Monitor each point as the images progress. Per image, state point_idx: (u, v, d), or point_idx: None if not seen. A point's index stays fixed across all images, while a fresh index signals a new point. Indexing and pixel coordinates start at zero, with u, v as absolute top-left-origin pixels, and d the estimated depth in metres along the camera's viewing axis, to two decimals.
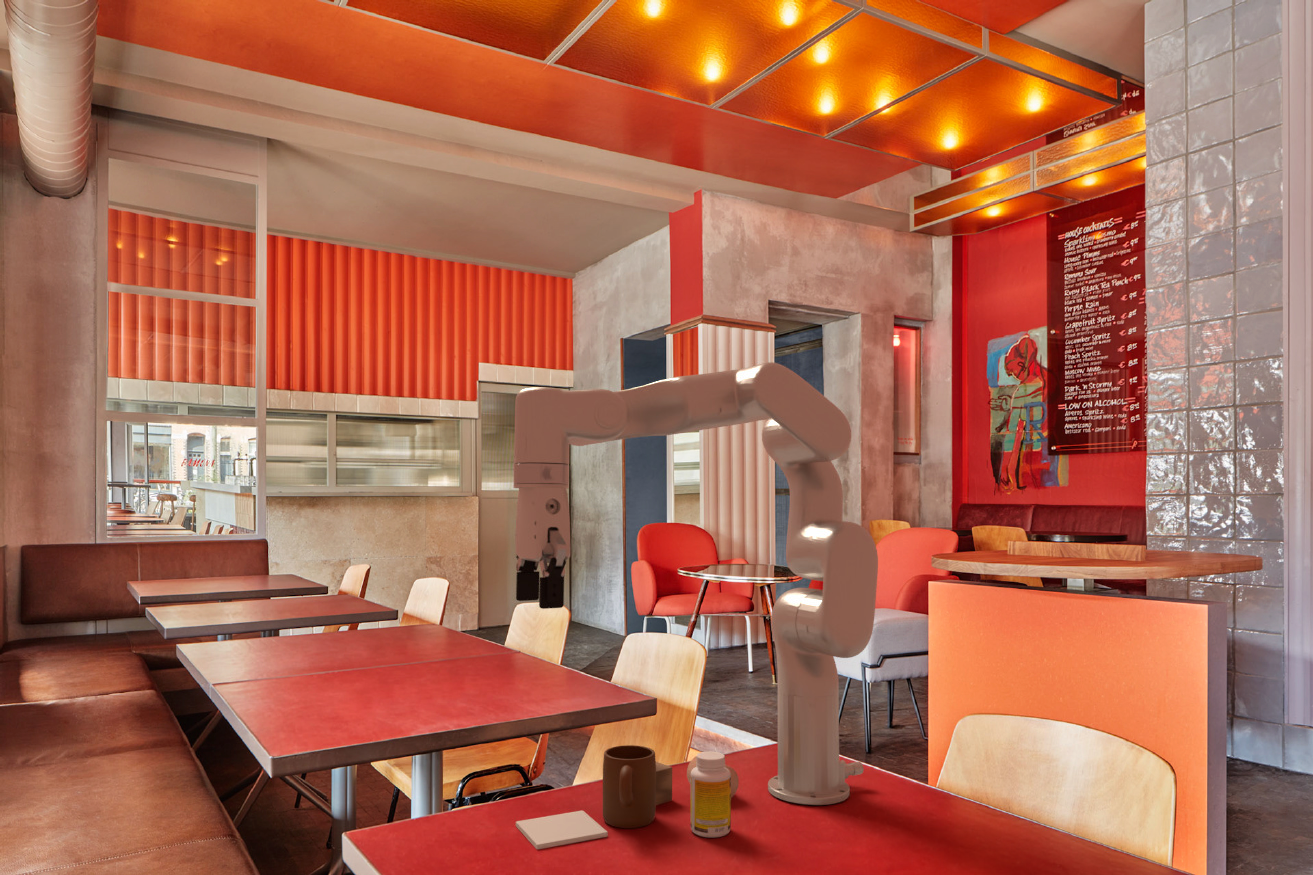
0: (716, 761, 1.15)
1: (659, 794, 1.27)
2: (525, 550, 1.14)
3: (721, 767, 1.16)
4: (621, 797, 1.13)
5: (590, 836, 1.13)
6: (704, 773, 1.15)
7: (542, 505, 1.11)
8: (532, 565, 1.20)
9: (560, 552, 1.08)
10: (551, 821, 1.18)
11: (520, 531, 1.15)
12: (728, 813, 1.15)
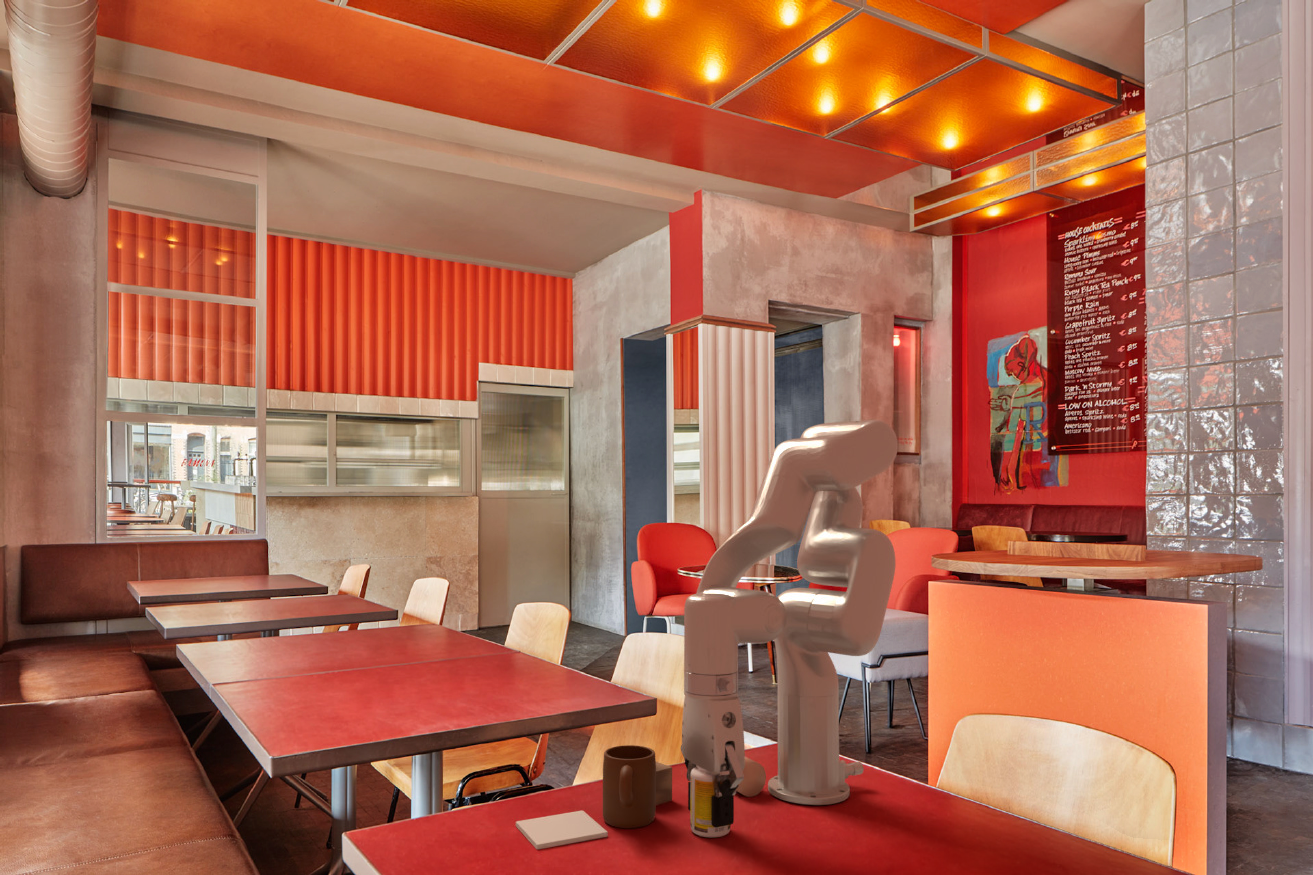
0: None
1: (658, 794, 1.27)
2: (698, 758, 1.16)
3: (721, 767, 1.16)
4: (621, 797, 1.13)
5: (590, 836, 1.13)
6: (704, 773, 1.15)
7: (719, 719, 1.13)
8: None
9: (736, 781, 1.11)
10: (551, 821, 1.18)
11: (691, 737, 1.17)
12: None
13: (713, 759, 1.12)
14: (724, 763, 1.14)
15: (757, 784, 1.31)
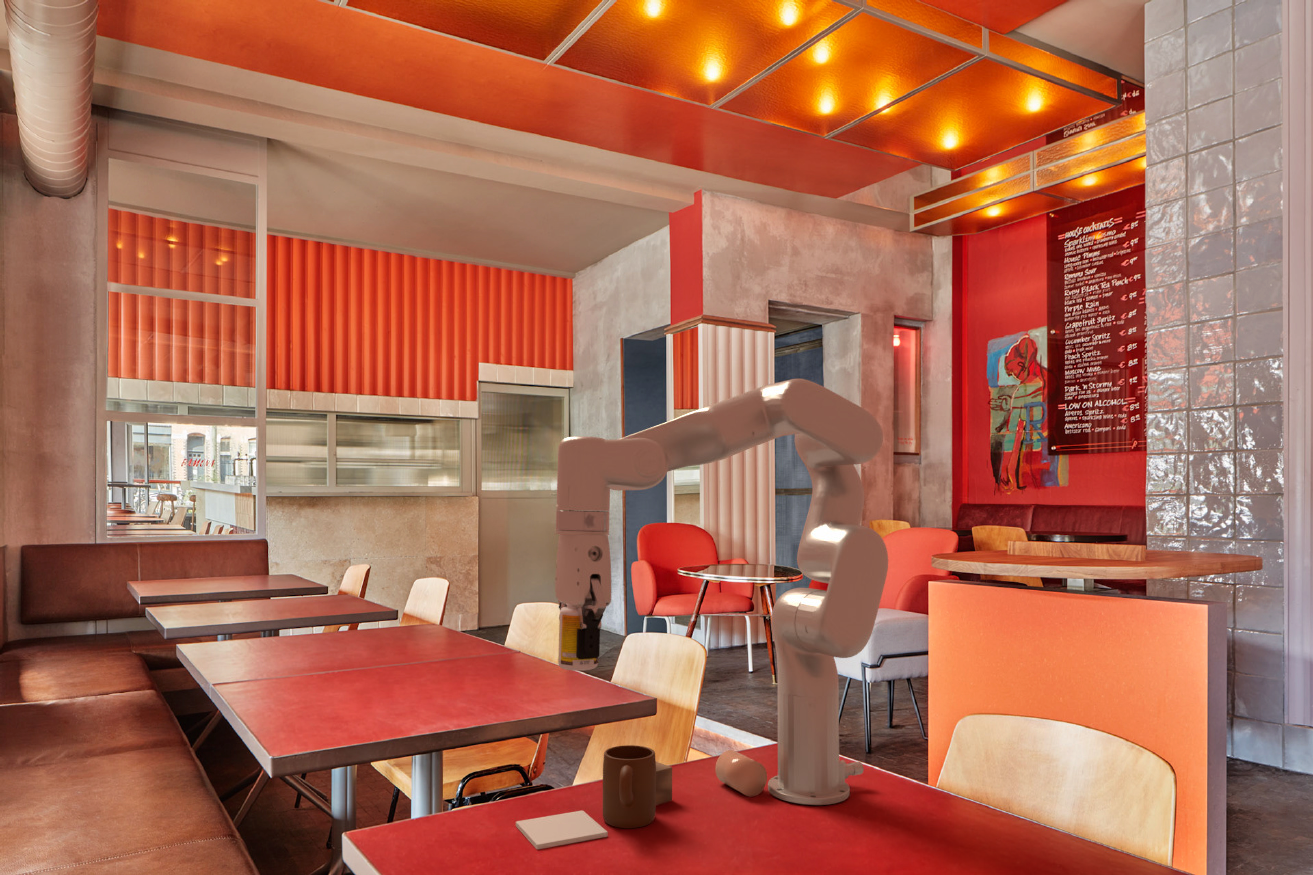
0: None
1: (658, 794, 1.27)
2: (566, 595, 1.17)
3: (589, 603, 1.17)
4: (621, 797, 1.13)
5: (590, 836, 1.13)
6: (571, 608, 1.16)
7: (585, 552, 1.14)
8: None
9: (599, 610, 1.12)
10: (551, 821, 1.18)
11: (561, 576, 1.19)
12: None
13: (578, 591, 1.14)
14: (591, 598, 1.16)
15: (758, 785, 1.31)
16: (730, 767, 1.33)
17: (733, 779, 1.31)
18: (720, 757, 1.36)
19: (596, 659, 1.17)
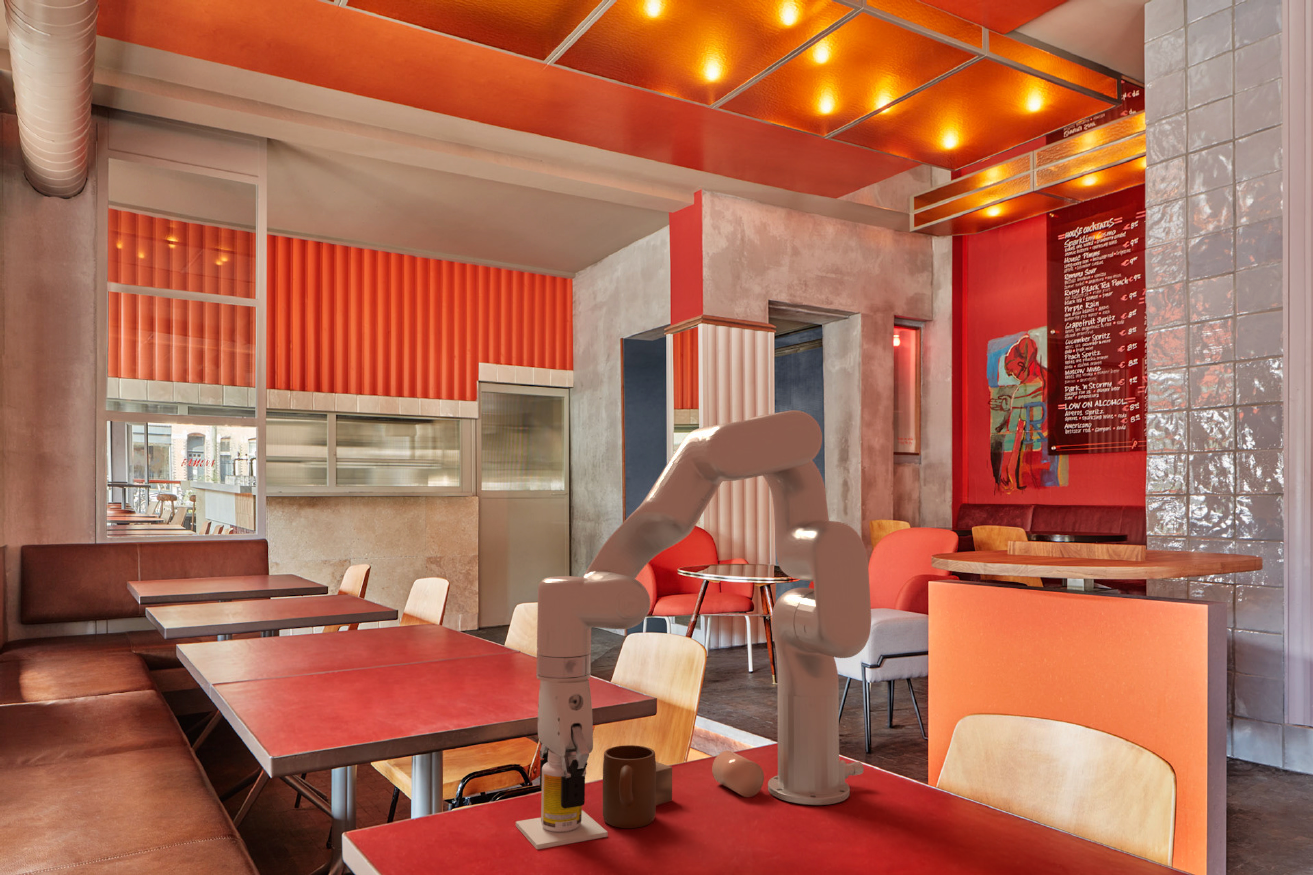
0: None
1: (658, 794, 1.27)
2: (548, 741, 1.16)
3: (571, 761, 1.15)
4: (621, 797, 1.13)
5: (590, 836, 1.13)
6: (553, 767, 1.15)
7: (565, 701, 1.13)
8: None
9: (582, 758, 1.10)
10: None
11: (543, 719, 1.17)
12: (577, 807, 1.15)
13: (559, 741, 1.12)
14: (572, 745, 1.14)
15: (756, 783, 1.31)
16: (725, 771, 1.32)
17: (730, 783, 1.31)
18: (715, 760, 1.36)
19: (579, 818, 1.15)
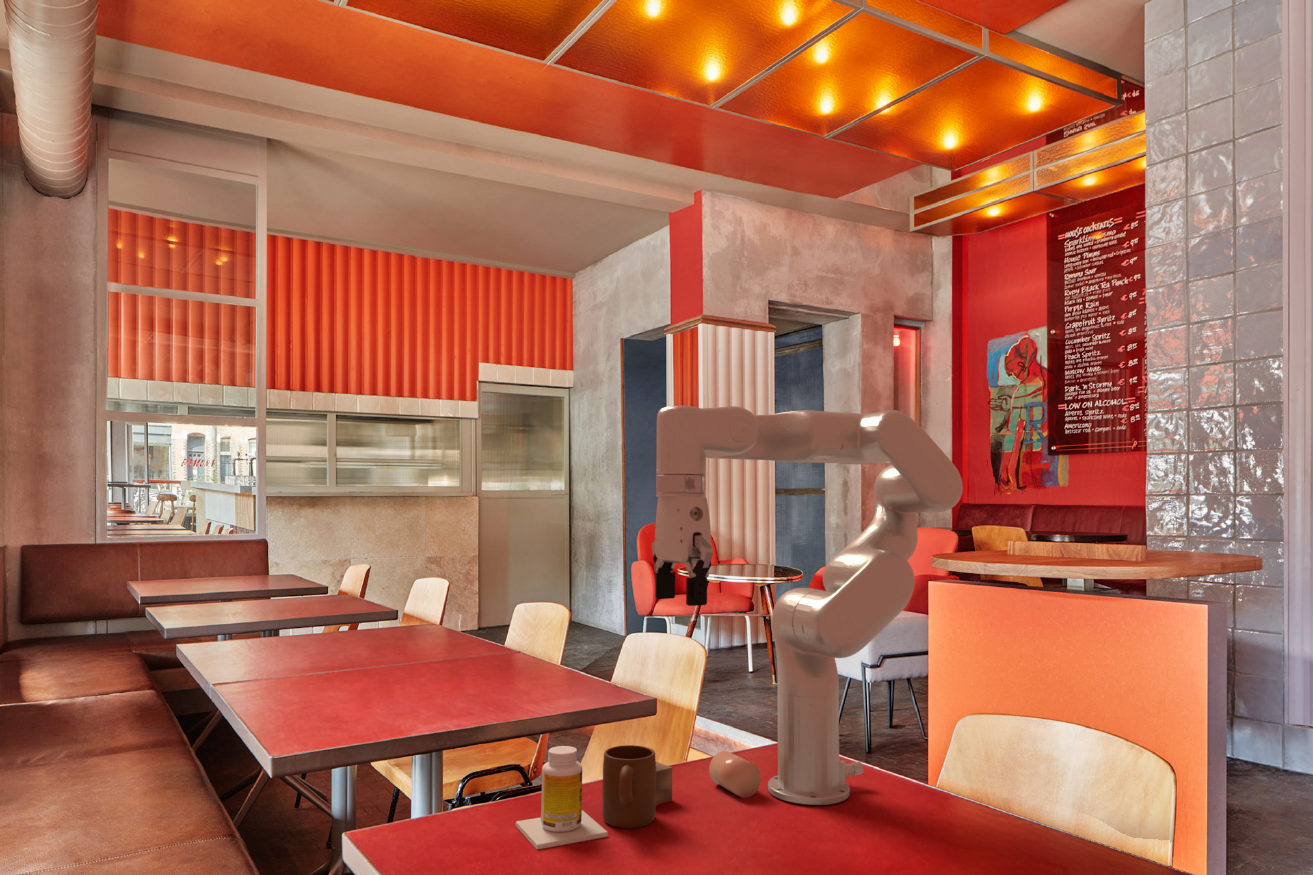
0: (566, 756, 1.15)
1: (658, 794, 1.27)
2: (669, 553, 1.26)
3: (571, 761, 1.15)
4: (621, 797, 1.13)
5: (590, 836, 1.13)
6: (553, 767, 1.15)
7: (687, 512, 1.23)
8: (669, 566, 1.32)
9: (707, 555, 1.20)
10: None
11: (662, 536, 1.28)
12: (577, 807, 1.15)
13: (682, 548, 1.23)
14: (692, 555, 1.25)
15: (753, 782, 1.31)
16: (722, 776, 1.32)
17: (728, 787, 1.31)
18: (711, 764, 1.35)
19: (579, 818, 1.15)
